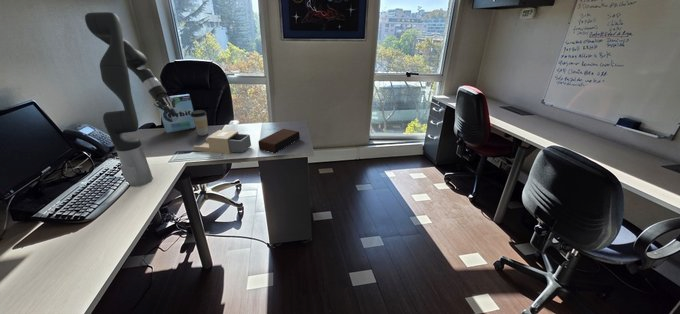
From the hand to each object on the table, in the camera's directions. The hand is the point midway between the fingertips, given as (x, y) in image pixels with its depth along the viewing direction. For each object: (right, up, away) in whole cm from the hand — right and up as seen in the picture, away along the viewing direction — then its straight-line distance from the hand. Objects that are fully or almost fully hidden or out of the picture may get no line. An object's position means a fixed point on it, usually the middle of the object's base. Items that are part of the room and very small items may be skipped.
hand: (175, 115), depth 154 cm
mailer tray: (+28, -17, +7) cm, 34 cm away
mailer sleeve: (+20, -17, +9) cm, 28 cm away
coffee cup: (+1, -8, +30) cm, 31 cm away
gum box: (-18, -4, +38) cm, 42 cm away
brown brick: (+55, -16, +14) cm, 59 cm away
